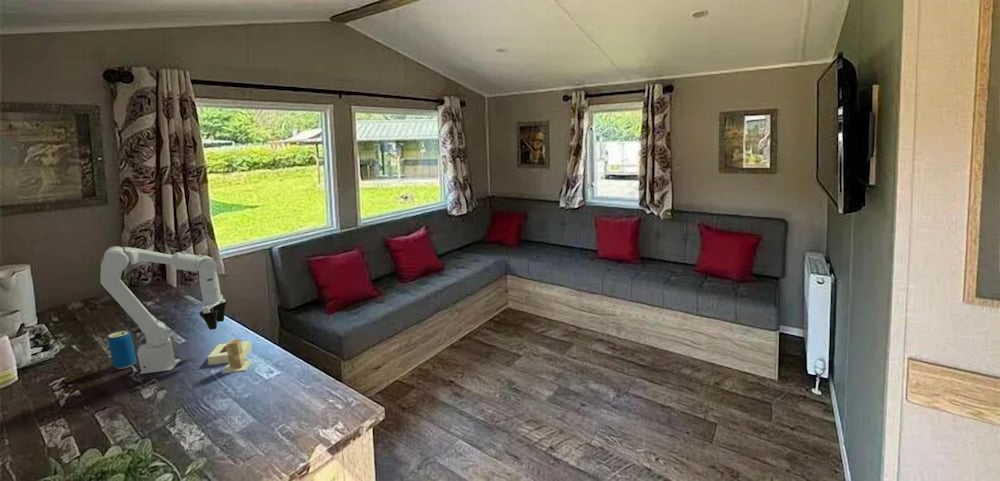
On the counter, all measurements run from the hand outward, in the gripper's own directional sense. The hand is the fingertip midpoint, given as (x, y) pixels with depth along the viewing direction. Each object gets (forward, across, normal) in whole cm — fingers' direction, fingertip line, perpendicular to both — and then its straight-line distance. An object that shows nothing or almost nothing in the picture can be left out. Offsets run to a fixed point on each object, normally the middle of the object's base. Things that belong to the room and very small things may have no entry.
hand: (216, 325), depth 177 cm
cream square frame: (+10, -6, -5) cm, 13 cm away
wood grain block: (+10, -16, -10) cm, 21 cm away
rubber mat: (+10, -16, -10) cm, 21 cm away
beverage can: (+11, -3, +30) cm, 32 cm away
